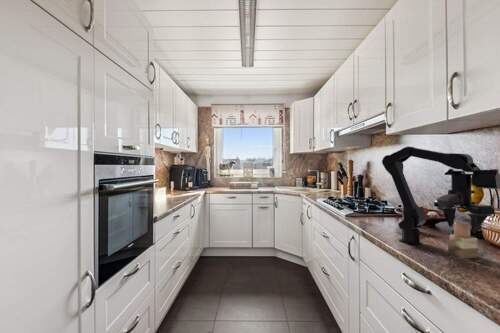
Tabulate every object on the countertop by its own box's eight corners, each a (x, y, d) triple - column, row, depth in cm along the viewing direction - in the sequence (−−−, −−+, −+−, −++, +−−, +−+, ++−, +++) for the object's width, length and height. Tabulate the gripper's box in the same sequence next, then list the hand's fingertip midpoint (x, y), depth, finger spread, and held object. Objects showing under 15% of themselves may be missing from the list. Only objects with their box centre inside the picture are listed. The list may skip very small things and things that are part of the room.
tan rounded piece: (450, 234, 95) (450, 221, 95) (461, 234, 96) (461, 221, 96) (462, 238, 90) (461, 224, 90) (473, 237, 91) (473, 224, 91)
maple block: (449, 244, 95) (449, 234, 95) (462, 243, 96) (462, 234, 96) (463, 248, 90) (463, 239, 90) (477, 248, 90) (477, 238, 90)
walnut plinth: (448, 253, 96) (448, 243, 95) (462, 252, 96) (462, 242, 96) (463, 258, 90) (463, 249, 90) (478, 257, 90) (478, 248, 90)
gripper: (421, 186, 101) (422, 224, 101) (465, 190, 83) (466, 237, 83) (446, 185, 103) (447, 223, 103) (495, 189, 84) (496, 236, 84)
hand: (461, 229), depth 93 cm, fingers open, 9 cm apart
